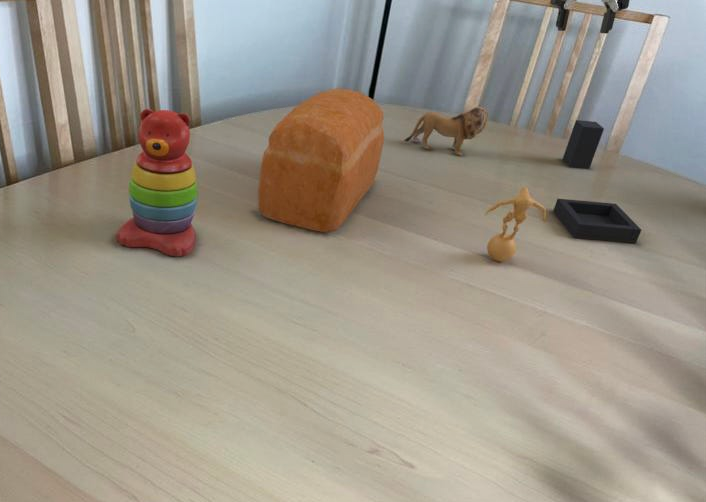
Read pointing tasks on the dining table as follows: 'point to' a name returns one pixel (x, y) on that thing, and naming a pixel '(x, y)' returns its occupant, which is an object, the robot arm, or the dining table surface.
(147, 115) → the stacking bear
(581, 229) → the black square tray
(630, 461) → the dining table surface
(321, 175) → the bread
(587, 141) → the pad block
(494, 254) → the figurine
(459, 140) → the lion figurine
